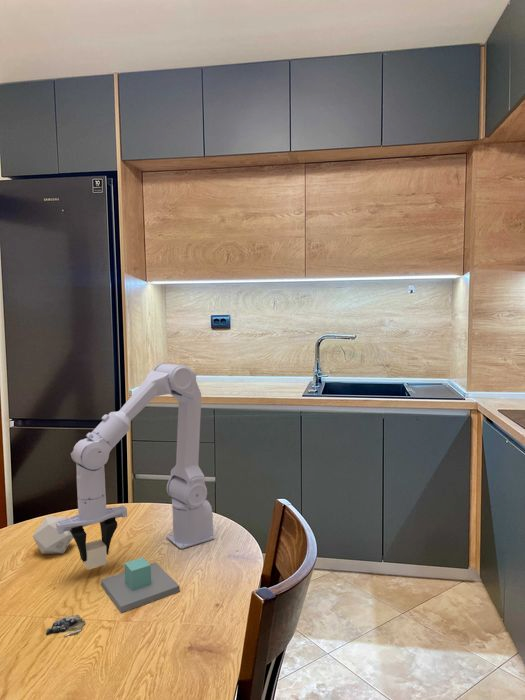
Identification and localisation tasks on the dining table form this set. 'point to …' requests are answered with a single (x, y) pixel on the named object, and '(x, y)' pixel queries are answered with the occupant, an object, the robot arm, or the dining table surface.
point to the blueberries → (67, 625)
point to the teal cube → (137, 573)
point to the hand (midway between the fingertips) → (94, 556)
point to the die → (52, 536)
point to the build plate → (132, 599)
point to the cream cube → (95, 554)
